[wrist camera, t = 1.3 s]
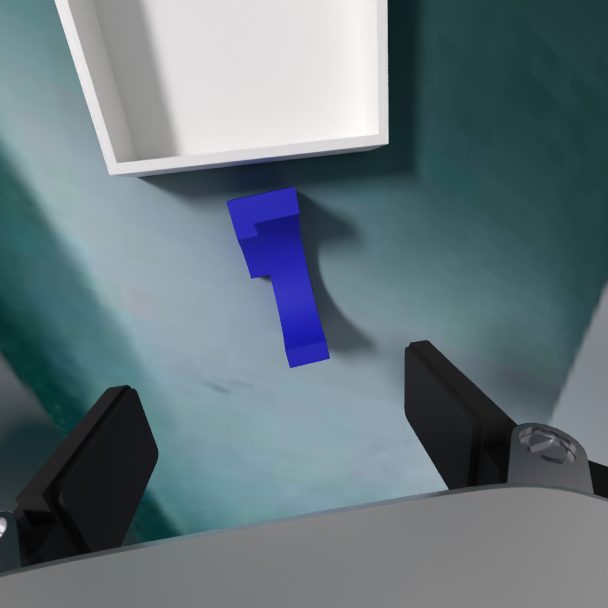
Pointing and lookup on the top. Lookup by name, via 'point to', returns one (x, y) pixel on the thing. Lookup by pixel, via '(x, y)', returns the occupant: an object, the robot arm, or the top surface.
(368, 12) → the tray
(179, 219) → the top surface
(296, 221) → the cable clip
